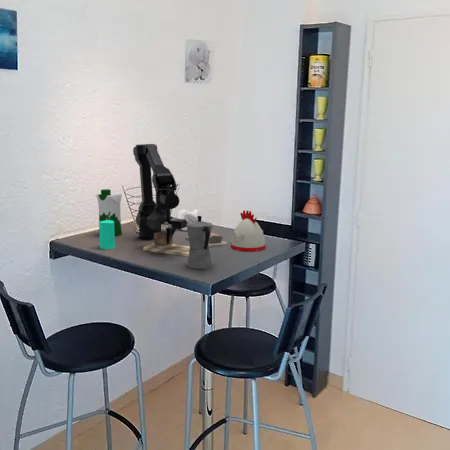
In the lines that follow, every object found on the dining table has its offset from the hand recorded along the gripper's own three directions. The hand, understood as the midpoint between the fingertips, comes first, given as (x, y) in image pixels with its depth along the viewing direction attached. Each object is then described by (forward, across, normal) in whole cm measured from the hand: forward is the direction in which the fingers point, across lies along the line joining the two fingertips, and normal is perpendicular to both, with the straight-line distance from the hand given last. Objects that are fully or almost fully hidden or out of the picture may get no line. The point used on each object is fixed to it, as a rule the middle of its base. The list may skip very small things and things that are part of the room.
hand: (163, 243), depth 218 cm
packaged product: (+3, +8, +19) cm, 21 cm away
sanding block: (+1, 0, 0) cm, 1 cm away
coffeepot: (+3, +24, -14) cm, 28 cm away
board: (+2, +4, 0) cm, 4 cm away
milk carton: (+2, -33, +10) cm, 35 cm away
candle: (+2, -21, -8) cm, 23 cm away
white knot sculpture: (+3, -9, +36) cm, 37 cm away
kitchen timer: (+3, +28, +19) cm, 34 cm away
